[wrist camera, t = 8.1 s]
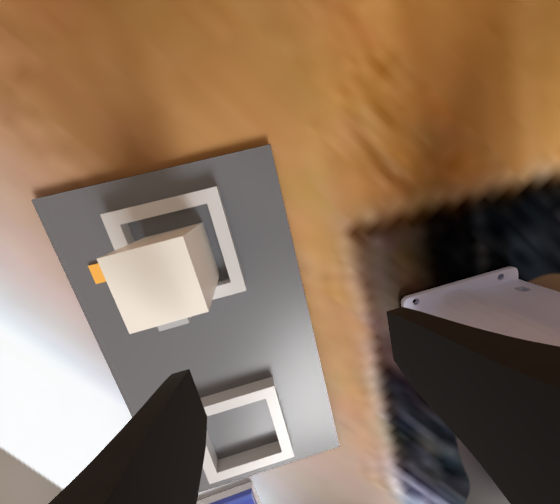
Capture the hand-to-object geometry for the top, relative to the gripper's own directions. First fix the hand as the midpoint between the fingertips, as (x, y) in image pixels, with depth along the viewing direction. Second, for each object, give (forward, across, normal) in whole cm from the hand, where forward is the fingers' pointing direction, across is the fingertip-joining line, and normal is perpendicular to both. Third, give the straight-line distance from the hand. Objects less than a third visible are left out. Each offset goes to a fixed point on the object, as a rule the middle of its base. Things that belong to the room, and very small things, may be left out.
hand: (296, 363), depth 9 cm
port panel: (+9, +5, +4) cm, 11 cm away
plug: (+9, +5, -3) cm, 11 cm away
